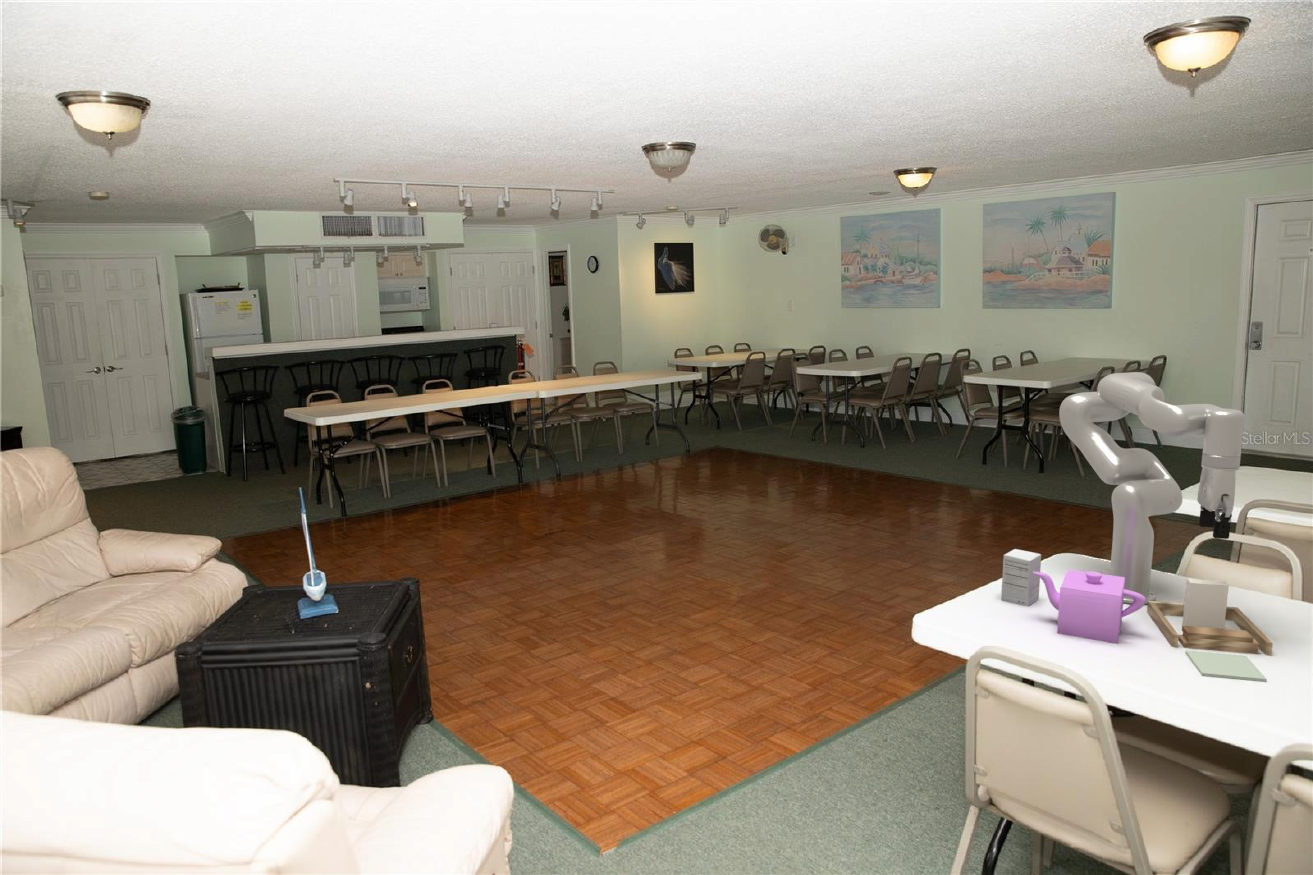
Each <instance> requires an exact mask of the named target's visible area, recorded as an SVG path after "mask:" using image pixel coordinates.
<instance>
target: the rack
mask: <svg viewBox="0 0 1313 875" xmlns="http://www.w3.org/2000/svg"><path fill="white" fill-rule="evenodd" d="M1184 603H1185V602H1184ZM1184 603H1183V602H1171V601H1170V602H1169V601H1160V600H1159V601H1156V600H1155V601H1148V604H1147V610H1146V613H1147V614H1148V616H1149V618H1151V619H1152V621H1153V623H1154V624H1155V625H1156V627H1157V628H1158V629H1159V631H1160V633H1162V635H1163V637H1164V638H1165V639H1166V641H1167V642H1168V644H1169V645H1170V646H1171V647H1172V648H1178V645H1179V641H1178V637H1179V635H1180V634H1178V632H1177V630H1176V629H1175V628H1174V627H1173V626H1172V624H1171V623H1170V622H1169V620H1168V619H1167V618H1166V616H1175V617H1183V614H1184ZM1225 621H1233V623H1234V624H1236V626H1238V628H1239V627H1240V628H1239V630H1245V631H1247V632H1248V633H1249V634H1250V635H1251V636H1252V637H1253V638H1254V639H1255V640H1256V641H1257V642H1258V644H1259V647H1258V649H1259V651H1261V652H1262V654H1264V656H1272V653H1273V641H1272V640H1271V639H1270V638H1268V637H1267V636H1266V634H1265V633H1263V631H1262V630H1261V629H1260V628H1259V627H1258V626H1257V625H1255V623H1254V622H1253V621H1252V620H1251V619H1250V618H1249V617H1248V616H1247V615H1246V614H1245V613H1244V612H1243V611H1242V610H1241V609H1240V608H1239V607H1237V606H1235V607H1234V606H1226V616H1225Z"/></svg>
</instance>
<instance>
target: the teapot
mask: <svg viewBox="0 0 1313 875" xmlns="http://www.w3.org/2000/svg"><path fill="white" fill-rule="evenodd" d="M1033 573H1034V574H1036V575H1037V576H1039V577H1040V580H1042V582H1043V584H1044V586H1045V590H1046V593H1047V597H1048V600H1049V602H1050V604H1051V605H1052V607H1053V608H1054V609H1055V610H1056V611H1058V616H1057V630H1056V633H1057V634H1060V635H1064V636H1069V637H1070V636H1071V637H1077V638H1083V639H1088V640H1093V641H1099V642H1106V643H1111V644H1116V645H1118V643H1119V638H1120V637H1119V636H1120V632H1121V627H1122V622H1123V618H1124V617H1127V616H1129V615H1131V614H1133V613H1135V612H1137V611H1139V610H1140V609H1141V608H1143V607H1144V605H1146V604H1145V602H1146V599H1145V597H1144V596H1143V595H1141V594H1139V593H1137V592H1134V591H1130V590H1125V589H1124V587H1125V577H1119V576H1112V575H1110V574H1105V573H1101V572H1098V571H1093V570H1092V571H1081V570H1074V569H1069V568H1068V569H1067V571H1066V573H1065V575H1064V578H1063V580H1062V583H1061V585H1060V588H1059V592H1058V591H1057V589H1056V587H1055V585H1054V581H1053V579H1052V577H1051V576H1050V575H1048V574H1047V573H1044V572H1041V571H1040V572H1033ZM1124 595H1126V596H1130V597H1132V598H1134V602H1133V603H1132V604H1130V605H1129V606H1128V607H1126V608H1124V603H1123V599H1124Z"/></svg>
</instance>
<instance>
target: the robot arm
mask: <svg viewBox="0 0 1313 875" xmlns="http://www.w3.org/2000/svg"><path fill="white" fill-rule="evenodd" d="M1096 390H1097V391H1086V392H1078V393H1074V394H1071V395H1068V396H1067V397H1065V398H1064V400H1062V402H1061V404H1060V406H1059V413H1058V414H1059V422H1060V425H1061V428H1062V430H1063V432H1064V433H1065V435H1066V436H1067V437H1068V438H1069V440H1070V441H1071V442H1072V443H1073V444H1074V445H1075V446H1076V447H1077V448H1078V449H1079V450H1080V452H1081V453H1082V454H1083V456H1084V458H1085V460H1086V461H1087V462H1088V464H1089V465H1090V466H1091V467H1092V469H1093V470H1094V472H1095V473H1096V474H1097V476H1098V477H1099V479H1100V480H1101V481H1102V482H1104V483H1105V484H1107V485H1113V486H1116V487H1115V488H1114V489H1113V491H1112V493H1111V507H1112V514H1113V516H1112V517H1113V525H1112V526H1113V528H1112V546H1111V553H1110V554H1111V557H1110V570H1109V575H1112V576H1119V577H1125V587H1124V589H1125V590H1130V591H1134V592H1137V593H1139V594H1141V595H1143V596H1144V597H1145V599H1146V602H1145V604H1144V605H1148V601H1156V598H1157V597H1156V594H1155V593H1154V592H1153V591H1151V588H1150V587H1151V585H1150V584H1151V577H1152V564H1153V553H1154V541H1155V533H1154V532H1155V531H1154V529H1153V526H1152V524H1151V522H1150V519H1149V518H1150V517H1153V516H1161V515H1167V514H1172V513H1174V512H1177V511H1178V510H1179V509H1180V507H1181V506H1182V503H1183V493H1182V491H1181V488H1180V486H1179V484H1178V483H1177V482H1176V480H1175V479H1174V478H1173V477H1172V475H1171V474H1170V472H1169V471H1168V470H1167V469H1166V467H1165V466H1164V465H1163V464H1162V462H1161V461H1160V460H1159V459H1158V457H1157V456H1155V454H1154V453H1153V452H1151V451H1149V450H1148V449H1145V448H1141V447H1134V448H1133V447H1131V448H1124V447H1121V446H1119V445H1118V444H1117V443H1116V441H1115V440H1114V438H1113V437H1112V436H1111V434H1109V432H1107V431H1106V430H1104V429H1103V428H1101V427H1100V426H1098V425H1097V424H1095V423H1101V422H1113V421H1117V420H1120V419H1123V418H1124V417H1126V416H1127V415H1129V414H1133V415H1136V416H1138V419H1139V421H1141V423H1142V424H1143V426H1145V427H1147V428H1148V429H1150V430H1153V431H1156V432H1157V433H1160V434H1163V435H1165V436H1170V437H1174V438H1175V437H1188V436H1189V437H1191V436H1203V445H1202V455H1201V465H1200V466H1201V468H1202V469H1201V473H1200V478H1199V479H1200V480H1199V484H1198V493H1197V503H1198V504H1199V505H1200V506H1199V507H1200V510H1199V511H1200V512H1199V519H1198V520H1199V521H1198V526H1199V527H1201V528H1213V529H1212V530H1213V531H1212V537H1213V538H1214V539H1224V540H1228V539H1229V538H1230V531H1231V524H1232V518H1233V514H1232V513H1233V510H1234V504H1235V496H1236V495H1235V494H1236V493H1235V492H1236V472H1237V471H1239V470H1240V464H1241V456H1242V446H1243V438H1244V427H1245V426H1244V425H1245V413H1244V412H1242V410H1240V409H1233V408H1224V407H1220V406H1218V405H1215V404H1211V403H1191V404H1190V403H1189V404H1178V405H1176V404H1170V403H1168V402H1165V397H1166V396H1165V393H1164V391H1163V389H1162V388H1161V387H1159V386H1157V385H1156V382H1155V381H1154V379H1153V377H1151V375H1149V374H1147V373H1145V372H1140V371H1134V372H1133V371H1132V372H1130V371H1129V372H1115V373H1110V374H1108V375H1105V376H1104V377H1103V378H1101V379H1100V381H1099V382H1098V385H1097V388H1096ZM1133 602H1134V598H1132V597H1130V596H1126V595H1124V599H1123V604H1130V605H1131V604H1132V603H1133Z"/></svg>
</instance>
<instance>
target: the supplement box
mask: <svg viewBox="0 0 1313 875" xmlns="http://www.w3.org/2000/svg"><path fill="white" fill-rule="evenodd" d="M1002 558H1003V561H1002V575H1001V576H1002V579H1001V580H1002V582H1001V597H1000V599H1001V600H1002V601H1005V602H1009V603H1013V604H1017V605H1021V606H1025V607H1029V606H1031V604H1033V603H1035V602H1036V601H1038V600H1039V598H1040V584H1041V581H1040V580H1041V578H1040V577H1039V576H1037V575H1036V574H1034V573H1033V572H1041V564H1042V554H1041V553H1038V552H1032V551H1027V550H1022V549H1017V548H1014V549H1012V550H1010V551H1008V552H1007V553H1005V554H1003V557H1002Z"/></svg>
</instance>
